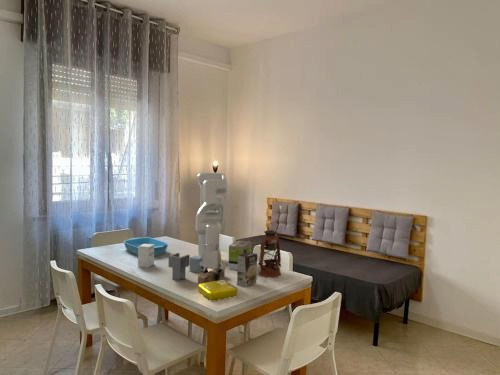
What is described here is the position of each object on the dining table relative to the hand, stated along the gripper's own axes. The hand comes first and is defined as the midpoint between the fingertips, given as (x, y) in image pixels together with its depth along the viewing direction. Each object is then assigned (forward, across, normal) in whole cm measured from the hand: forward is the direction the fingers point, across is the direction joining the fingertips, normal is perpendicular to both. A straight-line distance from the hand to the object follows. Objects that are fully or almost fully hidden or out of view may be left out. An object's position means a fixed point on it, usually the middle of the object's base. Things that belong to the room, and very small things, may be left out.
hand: (211, 279), depth 200 cm
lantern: (+1, +23, +27) cm, 35 cm away
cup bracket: (+1, -17, -6) cm, 18 cm away
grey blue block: (+1, -17, +10) cm, 20 cm away
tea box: (+1, +1, +31) cm, 31 cm away
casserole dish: (+1, -72, +28) cm, 77 cm away
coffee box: (+1, +19, +5) cm, 20 cm away
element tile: (+2, +13, -15) cm, 20 cm away
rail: (+1, 0, 0) cm, 1 cm away
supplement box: (+1, -49, +3) cm, 49 cm away
